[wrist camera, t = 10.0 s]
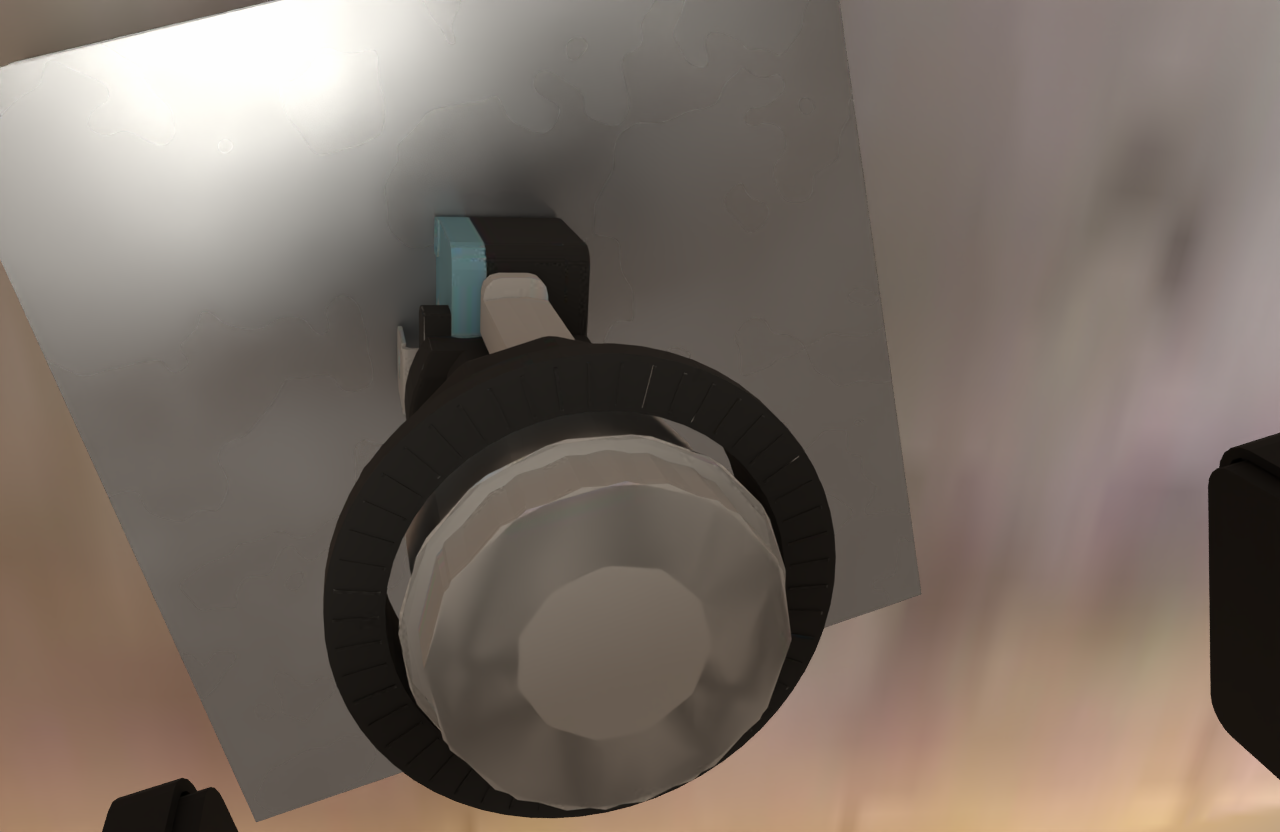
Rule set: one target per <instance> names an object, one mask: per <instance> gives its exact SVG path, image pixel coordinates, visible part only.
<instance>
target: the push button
mask: <svg viewBox="0 0 1280 832" xmlns="http://www.w3.org/2000/svg"><path fill="white" fill-rule="evenodd" d="M434 254H435V256H436V305H421V306H420V309H419V348H408V347H406V341H405V337H404V332H403V327H402V326H398V329H397V359H398V389H399V395H400V401H401V407H402V412H403V414H404V415H406V421H405V422H404V423H403V424H402V425H400V426H399V428H398V429H397V430H396V431H395V432H394V433H393V434H392V435H391V436H390V437H389V438H388V439H387V441H386V442H385V443H384V444H383V445H382V446H381V447H380V448H379V450H378V451H377V452H376V454H375V455H374V456H373V458H372V459H371V460H370V462H369V463H368V464H367V465H366V466H365V467H364V468H363V470H362V472H361V474H360V477H359V478H358V480H357V482H356V483H355V485H354V487H353V488H352V490H351V492H350V494H349V496H348V498H347V500H346V502H345V505H344V507H343V509H342V511H341V513H340V516H339V518H338V520H337V524H336V527H335V530H334V533H333V536H332V540H331V543H330V547H329V552H328V557H327V563H326V568H325V578H324V594H323V619H324V635H325V643H326V648H327V653H328V659H329V664H330V667H331V670H332V673H333V676H334V679H335V682H336V685H337V688H338V690H339V692H340V694H341V697H342V699H343V701H344V703H345V705H346V707H347V709H348V711H349V712H350V714H351V716H352V717H353V719H354V720H355V722H356V723H357V725H358V726H359V728H360V729H361V731H362V732H363V733H364V734H365V736H366V737H367V738H368V739H369V740H370V742H371V743H372V744H373V745H374V746H375V748H376V749H377V750H378V751H379V752H380V753H381V754H383V755H384V756H385V757H386V758H387V759H388V760H389V761H390V762H391V763H392V764H393V765H394V766H396V767H397V768H398V769H400V770H401V771H402V772H404V773H405V774H406V775H408V776H409V777H411V778H412V779H413V780H415V781H417V782H418V783H420V784H422V785H423V786H425V787H427V788H429V789H430V790H432V791H434V792H436V793H438V794H440V795H443V796H445V797H447V798H449V799H452V800H454V801H456V802H459V803H462V804H465V805H468V806H471V807H475V808H478V809H481V810H485V811H490V812H495V813H499V814H504V815H512V816H521V817H529V818H564V817H579V816H586V815H593V814H599V813H605V812H609V811H614V810H618V809H622V808H626V807H630V806H633V805H636V804H639V803H642V802H645V801H648V800H651V799H654V798H656V797H658V796H661V795H663V794H665V793H668V792H670V791H672V790H675V789H677V788H679V787H681V786H683V785H685V784H686V783H688V782H690V781H692V780H694V779H696V778H698V777H699V776H701V775H703V774H704V773H706V772H707V771H709V770H710V769H712V768H713V767H715V766H717V765H718V764H720V763H721V762H723V761H724V760H725V759H726V758H728V757H729V756H730V755H732V754H733V753H734V752H735V751H737V750H738V749H739V748H741V747H742V746H743V745H744V744H745V743H746V742H747V741H748V740H749V739H751V738H752V737H753V736H754V735H755V734H756V733H757V732H758V731H759V730H760V729H761V728H762V727H763V726H764V725H765V724H766V723H767V722H768V721H769V719H770V718H771V717H772V716H773V715H774V714H775V713H776V712H777V711H778V709H779V708H780V707H781V705H782V704H783V703H784V701H785V700H786V699H787V697H788V696H789V695H790V693H791V692H792V691H793V689H794V687H795V686H796V684H797V683H798V681H799V680H800V678H801V676H802V675H803V673H804V672H805V670H806V668H807V666H808V664H809V662H810V660H811V658H812V656H813V654H814V652H815V650H816V647H817V645H818V642H819V640H820V637H821V635H822V632H823V629H824V627H825V623H826V619H827V616H828V612H829V608H830V605H831V599H832V593H833V587H834V581H835V564H836V551H835V534H834V528H833V523H832V517H831V511H830V508H829V505H828V501H827V498H826V495H825V491H824V488H823V486H822V484H821V481H820V479H819V477H818V475H817V472H816V470H815V468H814V466H813V464H812V463H811V461H810V459H809V458H808V456H807V454H806V452H805V451H804V449H803V447H802V446H801V445H800V443H799V442H798V441H797V440H796V438H795V437H794V436H793V434H792V433H791V432H790V431H789V429H788V428H787V427H786V426H785V425H784V424H783V423H782V422H781V421H780V420H779V419H778V418H777V417H776V416H775V415H774V414H773V413H772V412H771V411H770V410H769V409H768V408H767V407H766V406H765V405H764V404H763V403H762V402H761V401H760V400H759V399H758V398H756V397H755V396H754V395H753V394H751V393H750V392H749V391H748V390H746V389H745V388H744V387H742V386H741V385H740V384H738V383H737V382H735V381H734V380H732V379H730V378H729V377H727V376H725V375H724V374H722V373H720V372H719V371H717V370H715V369H713V368H710V367H708V366H706V365H704V364H702V363H700V362H697V361H695V360H693V359H690V358H687V357H684V356H681V355H677V354H674V353H671V352H668V351H663V350H659V349H654V348H649V347H644V346H637V345H626V344H616V343H591V341H590V340H589V338H588V337H587V325H588V304H589V282H590V254H589V249H588V246H587V244H586V243H585V242H584V241H583V240H582V239H581V238H580V237H579V236H578V235H577V234H576V233H575V232H574V231H573V230H572V229H571V228H570V227H569V226H568V225H567V224H566V223H565V222H564V221H563V220H562V219H561V218H503V217H435V222H434ZM660 417H661V418H664V419H667V420H670V421H673V422H676V423H679V424H682V425H685V426H687V427H689V428H691V429H693V430H695V431H697V432H699V433H701V434H704V435H706V436H707V437H709V438H710V439H712V440H713V441H715V442H716V443H718V444H719V445H721V446H722V447H723V449H724V451H725V453H726V455H727V457H728V459H729V462H730V465H731V468H732V471H733V474H734V476H733V475H732V474H731V473H730V472H729V471H728V470H727V469H726V468H725V467H724V466H723V465H721V464H720V463H718V462H716V461H715V460H713V459H712V458H710V457H709V456H706V455H703V454H700V453H697V452H695V451H694V450H693V449H692V448H691V446H690V445H689V444H688V442H686V441H685V440H684V439H683V438H682V437H681V436H680V435H679V434H678V433H677V432H676V431H674V430H673V429H672V428H671V427H670V426H669V425H668V424H667V423H666V422H665V421H663V420H662V419H661V418H660ZM404 535H405V538H406V545H407V552H408V559H409V567H410V574H411V576H410V580H409V583H408V586H407V590H406V593H405V597H404V600H403V603H402V607H401V610H400V615H399V619H398V617H397V615H396V613H395V611H394V609H393V607H392V605H391V603H390V600H389V598H388V595H387V587H388V582H389V578H390V574H391V570H392V566H393V562H394V559H395V557H396V554H397V552H398V549H399V547H400V544H401V541H402V539H403V537H404Z"/></svg>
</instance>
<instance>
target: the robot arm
mask: <svg viewBox="0 0 1280 832" xmlns="http://www.w3.org/2000/svg"><path fill="white" fill-rule="evenodd" d="M1208 510H1209V594H1210V678H1211V700H1212V705H1213V708H1214V711H1215V713H1216V715H1217V717H1218V719H1219V721H1220V723H1221V724H1222V726H1223V727H1224V729H1225V730H1226V731H1227V732H1228V733H1229V734H1230V735H1231V736H1232V737H1233V738H1234V739H1235V740H1236V741H1237V742H1238V743H1239V744H1241V745H1242V746H1243V747H1244V748H1245V749H1246V750H1247V751H1248V752H1249V753H1251V754H1252V755H1253V756H1254V757H1255V758H1256V759H1257V760H1258V761H1259V762H1261V763H1262V764H1263V765H1264V766H1265V767H1266V768H1267V769H1268V770H1269V771H1271V772H1272V773H1273V774H1274V775H1275V776H1276V777H1277V778H1278V779H1279V780H1280V433H1277V434H1274V435H1271V436H1268V437H1265V438H1262V439H1258V440H1255V441H1252V442H1249V443H1246V444H1243V445H1239V446H1236V447H1233V448H1230V449H1229V450H1228V451H1226V452H1225V453H1224V455H1223V457H1222V459H1221V461H1220V466H1219V468H1218V469H1216V470H1215V471H1213V472H1212V474H1211V476H1210V478H1209V484H1208ZM102 832H238V830H237V828H236V826H235V824H234V822H233V820H232V817H231V815H230V813H229V811H228V809H227V807H226V805H225V802H224V800H223V799H222V797H221V795H220V793H219V792H218V791H217V790H216V789H215V788H212V787H209V788H206V789H203V790H200V791H197V790H196V788H195V787H194V785H193V784H192V783H191V782H190V781H189V780H188V779H184V778H180V779H177V780H174V781H171V782H168V783H164V784H161V785H158V786H155V787H152V788H149V789H145V790H142V791H139V792H136V793H133V794H129V795H126V796H123V797H120V798H118V799H116V800H115V801H113V802H112V804H111V806H110V809H109V811H108V814H107V817H106V820H105V824H104V827H103V831H102Z"/></svg>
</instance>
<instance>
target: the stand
mask: <svg viewBox="0 0 1280 832" xmlns="http://www.w3.org/2000/svg"><path fill="white" fill-rule="evenodd" d="M435 217H503V218H561V219H562V220H563V221H564V222H565V223H566V224H567V225H568V226H569V227H570V228H571V229H572V230H573V231H574V232H575V233H576V234H577V235H578V236H579V237H580V238H581V239H582V240H583V241H584V242H585V243H586V244H587V246H588V249H589V254H590V282H589V304H588V325H587V337H588V338H589V340H590V341H591V343H616V344H626V345H637V346H644V347H649V348H654V349H659V350H663V351H668V352H671V353H674V354H677V355H681V356H684V357H687V358H690V359H693V360H695V361H697V362H700V363H702V364H704V365H706V366H708V367H710V368H713V369H715V370H717V371H719V372H720V373H722V374H724V375H725V376H727V377H729V378H730V379H732V380H734V381H735V382H737V383H738V384H740V385H741V386H742V387H744V388H745V389H746V390H748V391H749V392H750V393H751V394H753V395H754V396H755V397H756V398H758V399H759V400H760V401H761V402H762V403H763V404H764V405H765V406H766V407H767V408H768V409H769V410H770V411H771V412H772V413H773V414H774V415H775V416H776V417H777V418H778V419H779V420H780V421H781V422H782V423H783V424H784V425H785V426H786V427H787V428H788V429H789V431H790V432H791V433H792V434H793V436H794V437H795V438H796V440H797V441H798V442H799V443H800V445H801V446H802V447H803V449H804V451H805V452H806V454H807V456H808V458H809V459H810V461H811V463H812V464H813V466H814V468H815V470H816V472H817V475H818V477H819V479H820V481H821V484H822V486H823V488H824V491H825V495H826V498H827V501H828V505H829V508H830V511H831V517H832V523H833V528H834V534H835V551H836V564H835V581H834V587H833V593H832V599H831V605H830V608H829V612H828V616H827V619H826V623H825V627H828V626H831V625H833V624H836V623H839V622H842V621H845V620H848V619H851V618H854V617H857V616H860V615H863V614H866V613H869V612H871V611H874V610H877V609H880V608H883V607H886V606H889V605H892V604H895V603H898V602H901V601H904V600H906V599H909V598H912V597H915V596H918V595H921V587H920V580H919V573H918V566H917V558H916V551H915V544H914V537H913V530H912V522H911V515H910V508H909V501H908V493H907V486H906V479H905V472H904V464H903V457H902V450H901V443H900V436H899V428H898V421H897V414H896V407H895V399H894V392H893V385H892V378H891V370H890V363H889V356H888V349H887V342H886V334H885V327H884V320H883V313H882V305H881V298H880V291H879V284H878V276H877V269H876V262H875V255H874V248H873V240H872V233H871V226H870V219H869V211H868V204H867V197H866V190H865V182H864V175H863V168H862V161H861V154H860V146H859V139H858V132H857V125H856V117H855V110H854V103H853V96H852V88H851V81H850V74H849V67H848V60H847V52H846V45H845V38H844V31H843V23H842V16H841V9H840V2H839V0H272V1H268V2H264V3H260V4H255V5H251V6H247V7H243V8H239V9H234V10H230V11H226V12H222V13H218V14H213V15H209V16H205V17H201V18H197V19H192V20H188V21H184V22H180V23H176V24H171V25H167V26H163V27H159V28H155V29H150V30H146V31H142V32H138V33H133V34H129V35H125V36H121V37H117V38H112V39H108V40H104V41H100V42H96V43H91V44H87V45H83V46H79V47H75V48H70V49H66V50H62V51H58V52H54V53H49V54H45V55H41V56H37V57H32V58H28V59H24V60H20V61H16V62H12V63H9V65H7V66H2V67H0V260H1V262H2V264H3V266H4V268H5V271H6V273H7V275H8V277H9V279H10V282H11V284H12V286H13V288H14V290H15V293H16V295H17V297H18V299H19V301H20V304H21V306H22V308H23V310H24V312H25V315H26V317H27V319H28V321H29V323H30V326H31V328H32V330H33V332H34V334H35V337H36V339H37V341H38V343H39V345H40V348H41V350H42V352H43V354H44V356H45V359H46V361H47V363H48V365H49V367H50V370H51V372H52V374H53V376H54V378H55V381H56V383H57V385H58V387H59V389H60V392H61V394H62V396H63V398H64V400H65V403H66V405H67V407H68V409H69V411H70V414H71V416H72V418H73V420H74V422H75V425H76V427H77V429H78V431H79V433H80V436H81V438H82V440H83V442H84V444H85V447H86V449H87V451H88V453H89V455H90V458H91V460H92V462H93V464H94V466H95V469H96V471H97V473H98V475H99V477H100V480H101V482H102V484H103V486H104V488H105V491H106V493H107V495H108V497H109V499H110V502H111V504H112V506H113V508H114V510H115V513H116V515H117V517H118V519H119V521H120V524H121V526H122V528H123V530H124V532H125V535H126V537H127V539H128V541H129V543H130V546H131V548H132V550H133V552H134V554H135V557H136V559H137V561H138V563H139V565H140V568H141V570H142V572H143V574H144V576H145V579H146V581H147V583H148V585H149V587H150V590H151V592H152V594H153V596H154V598H155V601H156V603H157V605H158V607H159V609H160V612H161V614H162V616H163V618H164V620H165V623H166V625H167V627H168V629H169V631H170V634H171V636H172V638H173V640H174V642H175V645H176V647H177V649H178V651H179V653H180V656H181V658H182V660H183V662H184V664H185V667H186V669H187V671H188V673H189V675H190V678H191V680H192V682H193V684H194V686H195V689H196V691H197V693H198V695H199V697H200V700H201V702H202V704H203V706H204V708H205V711H206V713H207V715H208V717H209V719H210V722H211V724H212V726H213V728H214V730H215V733H216V735H217V737H218V739H219V741H220V744H221V746H222V748H223V750H224V752H225V755H226V757H227V759H228V761H229V763H230V766H231V768H232V770H233V772H234V774H235V777H236V779H237V781H238V783H239V785H240V788H241V790H242V792H243V794H244V796H245V799H246V801H247V803H248V805H249V807H250V810H251V812H252V814H253V816H254V818H255V821H256V822H258V821H261V820H264V819H267V818H270V817H273V816H276V815H279V814H282V813H285V812H288V811H290V810H293V809H296V808H299V807H302V806H305V805H308V804H311V803H314V802H317V801H320V800H323V799H325V798H328V797H331V796H334V795H337V794H340V793H343V792H346V791H349V790H352V789H355V788H358V787H361V786H363V785H366V784H369V783H372V782H375V781H378V780H381V779H384V778H387V777H390V776H393V775H396V774H398V773H401V772H402V771H401V770H400V769H398V768H397V767H396V766H394V765H393V764H392V763H391V762H390V761H389V760H388V759H387V758H386V757H385V756H384V755H383V754H381V753H380V752H379V751H378V750H377V749H376V748H375V746H374V745H373V744H372V743H371V742H370V740H369V739H368V738H367V737H366V736H365V734H364V733H363V732H362V731H361V729H360V728H359V726H358V725H357V723H356V722H355V720H354V719H353V717H352V716H351V714H350V712H349V711H348V709H347V707H346V705H345V703H344V701H343V699H342V697H341V694H340V692H339V690H338V688H337V685H336V682H335V679H334V676H333V673H332V670H331V667H330V664H329V659H328V653H327V648H326V643H325V635H324V619H323V594H324V578H325V568H326V563H327V557H328V552H329V547H330V543H331V540H332V536H333V533H334V530H335V527H336V524H337V520H338V518H339V516H340V513H341V511H342V509H343V507H344V505H345V502H346V500H347V498H348V496H349V494H350V492H351V490H352V488H353V487H354V485H355V483H356V482H357V480H358V478H359V477H360V474H361V472H362V470H363V468H364V467H365V466H366V465H367V464H368V463H369V462H370V460H371V459H372V458H373V456H374V455H375V454H376V452H377V451H378V450H379V448H380V447H381V446H382V445H383V444H384V443H385V442H386V441H387V439H388V438H389V437H390V436H391V435H392V434H393V433H394V432H395V431H396V430H397V429H398V428H399V426H400V425H402V424H403V423H404V422H405V421H406V415H404V414H403V412H402V407H401V401H400V395H399V389H398V359H397V329H398V326H402V327H403V332H404V337H405V341H406V347H408V348H419V309H420V306H421V305H436V256H435V254H434V222H435ZM660 418H661V417H660ZM661 419H662V420H663V421H665V422H666V423H667V424H668V425H669V426H670V427H671V428H672V429H673V430H674V431H676V432H677V433H678V434H679V435H680V436H681V437H682V438H683V439H684V440H685V441H686V442H688V444H689V445H690V446H691V448H692V449H693V450H694V451H695V452H697V453H700V454H703V455H706V456H709V457H710V458H712V459H713V460H715V461H716V462H718V463H720V464H721V465H723V466H724V467H725V468H726V469H727V470H728V471H729V472H730V473H731V474H732V475H733V476H734V474H733V471H732V468H731V465H730V462H729V459H728V457H727V455H726V453H725V451H724V449H723V447H722V446H721V445H719V444H718V443H716V442H715V441H713V440H712V439H710V438H709V437H707V436H706V435H704V434H701V433H699V432H697V431H695V430H693V429H691V428H689V427H687V426H685V425H682V424H679V423H676V422H673V421H670V420H667V419H664V418H661ZM410 576H411V574H410V567H409V559H408V552H407V545H406V538H405V535H404V537H403V539H402V541H401V544H400V547H399V549H398V552H397V554H396V557H395V559H394V562H393V566H392V570H391V574H390V578H389V582H388V587H387V595H388V598H389V600H390V603H391V605H392V607H393V609H394V611H395V613H396V615H397V617H398V619H399V615H400V610H401V607H402V603H403V600H404V597H405V593H406V590H407V586H408V583H409V580H410ZM825 627H824V628H825Z"/></svg>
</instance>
